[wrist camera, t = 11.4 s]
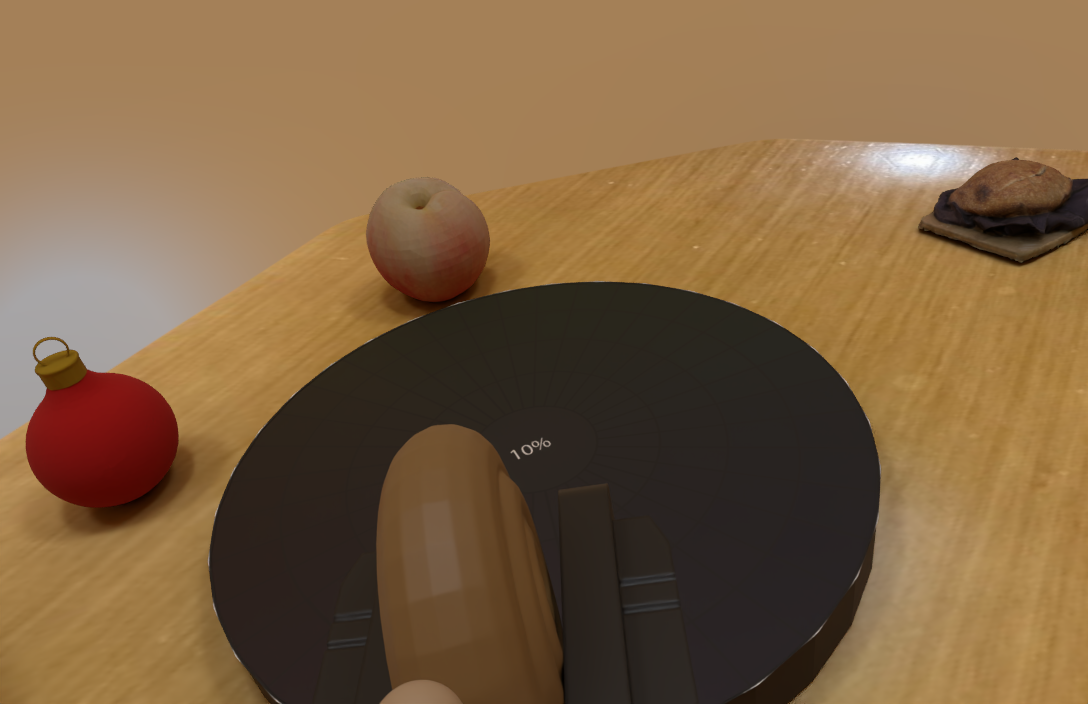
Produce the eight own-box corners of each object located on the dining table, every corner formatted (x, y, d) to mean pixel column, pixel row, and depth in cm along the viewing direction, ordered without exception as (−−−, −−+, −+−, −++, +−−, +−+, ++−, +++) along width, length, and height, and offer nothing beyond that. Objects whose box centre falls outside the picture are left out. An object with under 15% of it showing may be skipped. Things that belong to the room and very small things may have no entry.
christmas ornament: (183, 427, 49) (105, 286, 43) (213, 488, 43) (130, 336, 38) (60, 486, 46) (-40, 342, 40) (77, 558, 41) (-35, 406, 35)
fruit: (409, 334, 53) (375, 225, 49) (373, 288, 59) (339, 187, 55) (516, 290, 55) (493, 183, 51) (470, 250, 62) (446, 151, 57)
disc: (600, 270, 56) (595, 231, 54) (1030, 500, 34) (1044, 448, 32) (171, 482, 44) (147, 442, 43) (400, 1039, 22) (369, 1001, 21)
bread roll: (1026, 272, 48) (1038, 216, 45) (905, 228, 54) (911, 177, 52) (1132, 208, 51) (1148, 153, 49) (1007, 174, 58) (1016, 124, 55)
